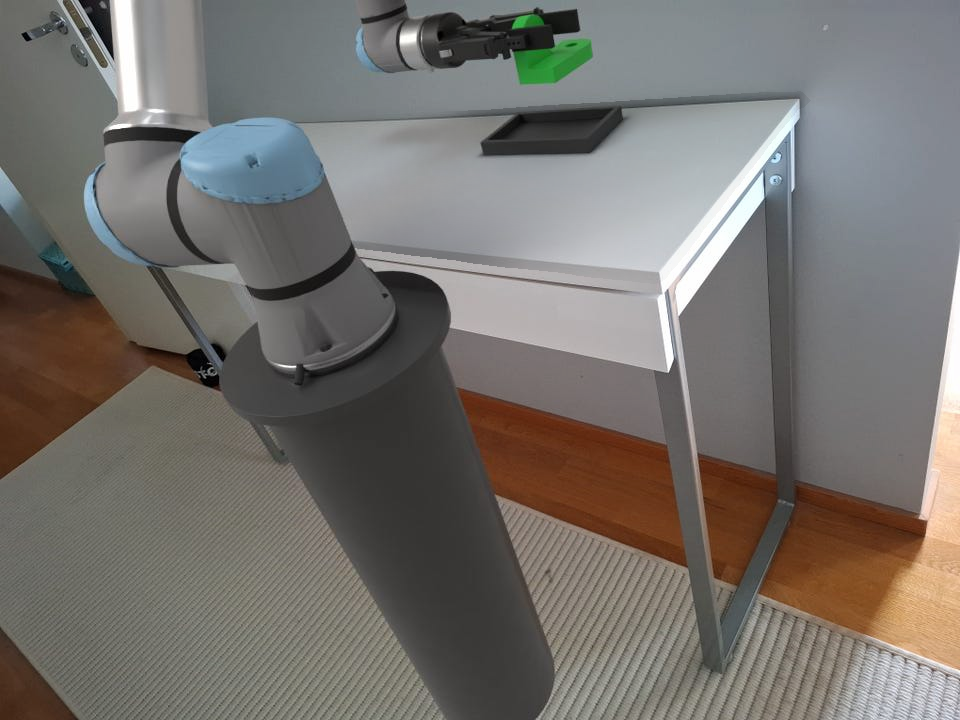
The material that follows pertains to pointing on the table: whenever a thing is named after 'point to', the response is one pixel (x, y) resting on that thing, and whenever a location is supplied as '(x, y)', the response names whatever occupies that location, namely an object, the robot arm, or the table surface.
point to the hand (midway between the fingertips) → (564, 28)
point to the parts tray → (553, 131)
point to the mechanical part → (549, 57)
